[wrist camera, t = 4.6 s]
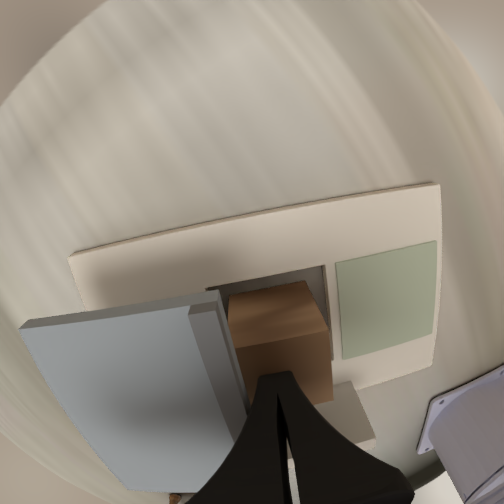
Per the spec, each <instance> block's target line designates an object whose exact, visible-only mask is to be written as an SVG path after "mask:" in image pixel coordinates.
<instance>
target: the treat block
mask: <svg viewBox="0 0 504 504" xmlns="http://www.w3.org/2000/svg"><path fill="white" fill-rule="evenodd" d="M228 326H229V330H230V334H231V338H232V341H233V345H234V349H235V352H236V356H237V359H238V363H239V366H240V370H241V373H242V377H243V380H244V384H245V387H246V391H247V394H248V398H249V401H250V404H251V405H252V402H253V399H254V395H255V391H256V387H257V380H258V377H259V376H261V375H267V374H272V373H278V372H283V371H288V370H290V371H291V372H293V375H294V377H295V379H296V381H297V383H298V385H299V386H300V388H301V390H302V391H303V393H304V394H305V395H306V397H307V398H308V399H309V401H310V402H311V403H312V405H316V404H321V403H325V402H329V401H333V400H334V397H333V379H332V364H331V350H330V338H329V329H328V327H327V325H326V323H325V321H324V319H323V317H322V314H321V312H320V310H319V308H318V306H317V304H316V302H315V300H314V298H313V296H312V294H311V292H310V290H309V288H308V286H307V284H306V282H305V280H304V281H300V282H295V283H290V284H285V285H280V286H275V287H270V288H264V289H259V290H254V291H249V292H244V293H238V294H233V295H229V308H228Z"/></svg>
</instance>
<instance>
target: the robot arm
mask: <svg viewBox="0 0 504 504" xmlns="http://www.w3.org/2000/svg"><path fill="white" fill-rule="evenodd" d="M287 440H288V444H289V447H290V451H291V454H292V458H293V461H294V466H295V472H296V479H297V485H298V492H299V498H300V504H411V502H412V500H413V498H414V495H415V493H414V490H413V488H412V486H411V484H410V483H409V481H408V480H407V479H406V477H405V476H404V475H403V473H402V472H401V471H400V470H399V469H398V468H395V467H393V466H391V465H389V464H387V463H385V462H383V461H381V460H379V459H377V458H375V457H374V456H372V455H370V454H369V453H367V452H365V451H364V450H362V449H361V448H360V447H358V446H357V445H355V444H354V443H352V442H351V441H349V440H348V439H347V438H346V437H344V436H343V435H342V434H341V433H340V432H338V431H337V430H336V429H335V428H334V427H333V426H332V425H331V424H330V423H329V422H328V421H327V420H326V419H325V418H324V417H323V416H322V415H321V414H320V413H319V412H318V411H317V409H316V408H315V407H314V406H313V405H312V403H311V402H310V401H309V399H308V398H307V397H306V395H305V394H304V393H303V391H302V390H301V388H300V386H299V385H298V383H297V381H296V379H295V377H294V375H293V372H291V371H290V370H288V371H283V372H278V373H272V374H267V375H261V376H259V377H258V380H257V387H256V391H255V395H254V399H253V402H252V405H251V408H250V411H249V414H248V416H247V419H246V421H245V423H244V426H243V428H242V430H241V432H240V434H239V436H238V438H237V440H236V442H235V444H234V445H233V447H232V449H231V451H230V452H229V454H228V455H227V457H226V458H225V460H224V461H223V463H222V464H221V465H220V467H219V468H218V469H217V471H216V472H215V473H214V474H213V476H212V477H211V478H210V479H209V480H208V481H207V483H206V484H205V485H204V486H203V487H202V488H201V489H200V490H199V491H198V492H197V493H196V494H195V495H194V496H193V497H192V498H191V499H190V500H189V501H187V502H186V503H185V504H293V502H292V496H291V489H290V483H289V473H288V453H287ZM432 449H435V451H436V453H437V454H438V456H439V458H440V460H441V462H442V463H443V465H444V467H445V469H446V471H447V473H448V475H449V476H450V478H451V480H452V482H453V484H454V486H455V488H456V490H457V492H458V493H459V495H460V497H461V499H462V501H463V503H464V504H504V365H503V366H501V367H499V368H497V369H495V370H493V371H491V372H490V373H488V374H486V375H484V376H482V377H480V378H478V379H476V380H474V381H472V382H470V383H468V384H465V385H463V386H461V387H459V388H457V389H455V390H452V391H450V392H448V393H446V394H443V395H441V396H439V397H436V398H434V399H433V400H432V401H431V403H430V406H429V410H428V414H427V418H426V421H425V425H424V428H423V432H422V435H421V439H420V442H419V445H418V448H417V453H418V454H422V453H425V452H427V451H429V450H432Z"/></svg>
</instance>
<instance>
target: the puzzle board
mask: <svg viewBox="0 0 504 504" xmlns="http://www.w3.org/2000/svg"><path fill="white" fill-rule="evenodd" d="M67 259H68V262H69V265H70V268H71V271H72V274H73V277H74V279H75V282H76V285H77V288H78V290H79V293H80V296H81V298H82V301H83V303H84V306H85V308H86V311H93V310H100V309H106V308H112V307H119V306H125V305H131V304H137V303H143V302H149V301H155V300H161V299H167V298H173V297H179V296H184V295H190V294H196V293H201V292H207V291H208V287H213V286H218V285H223V284H229V283H234V282H239V281H245V280H250V279H255V278H260V277H265V276H270V275H275V274H280V273H285V272H290V271H295V270H300V269H305V268H310V267H315V266H320V265H322V269H323V277H324V286H325V295H326V305H327V315H328V326H329V337H330V350H331V364H332V379H333V397H334V400H333V401H329V402H325V403H321V404H316V405H313V406H314V407H315V408H316V409H317V411H318V412H319V413H320V414H321V415H322V416H323V417H324V418H325V419H326V420H327V421H328V422H329V423H330V424H331V425H332V426H333V427H334V428H335V429H336V430H337V431H338V432H340V433H341V434H342V435H343V436H344V437H346V438H347V439H348V440H349V441H351V442H352V443H354V444H355V445H357V446H358V447H360V448H361V449H362V450H364V451H367V450H370V449H373V448H375V442H376V436H375V434H374V432H373V429H372V427H371V425H370V423H369V420H368V418H367V416H366V413H365V411H364V409H363V407H362V404H361V402H360V400H359V398H358V395H357V393H356V391H355V390H359V389H362V388H366V387H369V386H373V385H376V384H379V383H383V382H386V381H389V380H392V379H395V378H398V377H401V376H404V375H407V374H410V373H413V372H416V371H418V370H421V369H424V368H427V367H429V366H432V361H433V355H434V348H435V341H436V333H437V324H438V315H439V304H440V291H441V272H442V210H441V191H440V184H436V183H427V184H420V185H413V186H406V187H399V188H393V189H386V190H380V191H373V192H367V193H361V194H355V195H349V196H343V197H337V198H331V199H325V200H320V201H314V202H309V203H303V204H297V205H292V206H287V207H281V208H276V209H271V210H265V211H260V212H255V213H250V214H245V215H240V216H235V217H230V218H225V219H220V220H215V221H211V222H206V223H201V224H196V225H192V226H187V227H182V228H178V229H173V230H169V231H164V232H160V233H155V234H151V235H147V236H142V237H138V238H133V239H129V240H125V241H121V242H117V243H112V244H108V245H104V246H100V247H96V248H92V249H88V250H84V251H80V252H76V253H73V254H72V255H70V256H69V257H67ZM287 453H288V469H291V468H295V466H294V461H293V458H292V454H291V451H290V447H289V444H288V440H287Z"/></svg>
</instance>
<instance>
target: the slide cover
mask: <svg viewBox="0 0 504 504" xmlns="http://www.w3.org/2000/svg"><path fill="white" fill-rule="evenodd" d="M18 330H19V332H20V334H21V336H22V338H23V340H24V342H25V344H26V346H27V348H28V350H29V352H30V354H31V356H32V358H33V360H34V361H35V363H36V365H37V367H38V369H39V370H40V372H41V374H42V376H43V377H44V379H45V381H46V383H47V384H48V386H49V387H50V389H51V391H52V392H53V394H54V396H55V397H56V399H57V400H58V402H59V403H60V405H61V406H62V408H63V409H64V411H65V412H66V414H67V415H68V417H69V418H70V420H71V421H72V423H73V424H74V425H75V427H76V428H77V429H78V431H79V432H80V434H81V435H82V436H83V438H84V439H85V440H86V442H87V443H88V444H89V445H90V447H91V448H92V449H93V450H94V452H95V453H96V454H97V455H98V457H99V458H100V459H101V460H102V461H103V463H104V464H105V465H106V466H107V467H108V469H109V470H110V471H111V472H112V473H113V474H114V475H115V476H116V478H117V479H118V480H119V481H120V482H121V483H122V484H123V485H124V486H125V487H126V488H127V490H135V491H149V492H176V493H193V492H198V491H199V490H200V489H201V488H202V487H203V486H204V485H205V484H206V483H207V481H208V480H209V479H210V478H211V477H212V476H213V474H214V473H215V472H216V471H217V469H218V468H219V467H220V465H221V464H222V463H223V461H224V460H225V458H226V457H227V455H228V454H229V452H230V451H231V449H232V447H233V445H234V444H235V442H236V440H237V438H238V436H239V434H240V432H241V430H242V428H243V426H244V423H245V421H246V419H247V416H248V414H249V411H250V408H251V404H250V401H249V398H248V394H247V391H246V387H245V384H244V380H243V377H242V373H241V370H240V366H239V363H238V359H237V356H236V352H235V349H234V345H233V341H232V338H231V334H230V330H229V326H228V323H227V319H226V315H225V311H224V308H223V304H222V300H221V296H220V292H219V289H218V290H212V291H207V292H201V293H196V294H190V295H184V296H179V297H173V298H167V299H161V300H155V301H149V302H143V303H137V304H131V305H125V306H119V307H112V308H106V309H100V310H93V311H86V312H80V313H73V314H66V315H59V316H52V317H45V318H38V319H30V320H27V321H26V322H25V323H24V324H23V325H22V326H21V327H20V328H19V329H18Z"/></svg>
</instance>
